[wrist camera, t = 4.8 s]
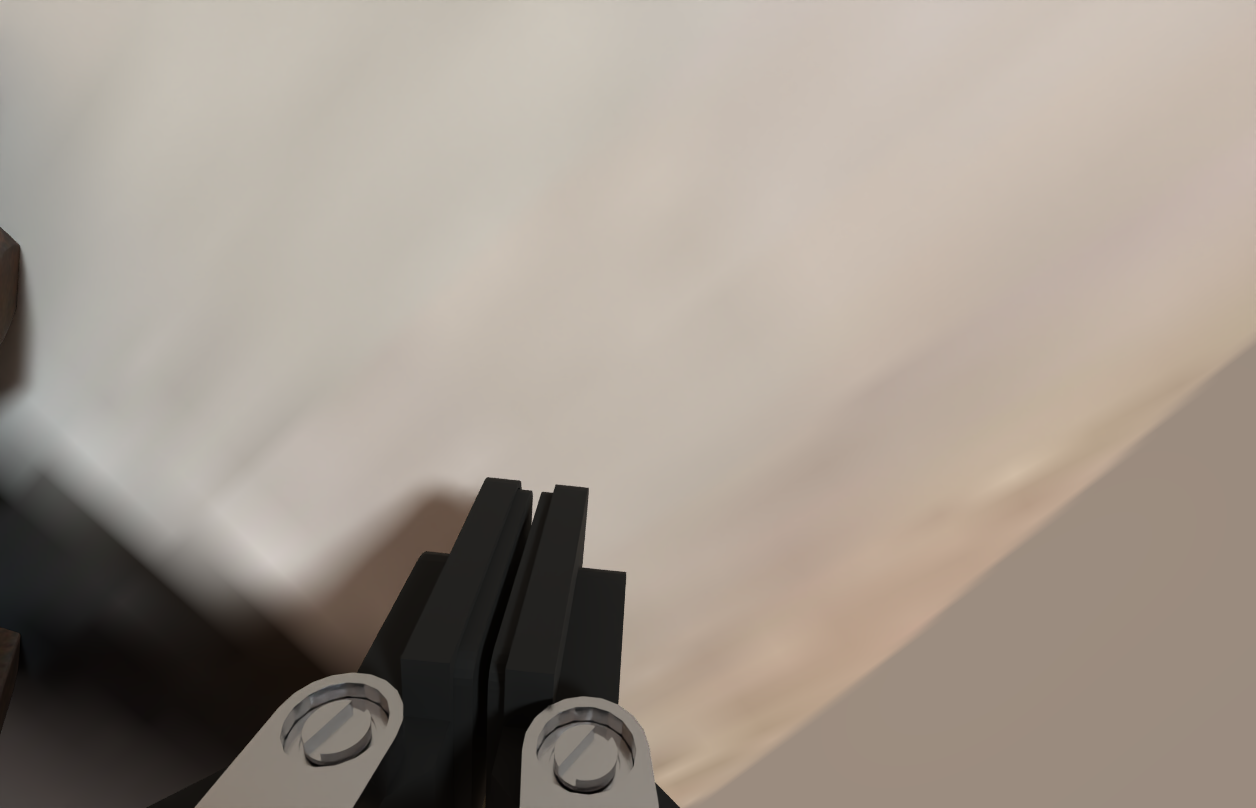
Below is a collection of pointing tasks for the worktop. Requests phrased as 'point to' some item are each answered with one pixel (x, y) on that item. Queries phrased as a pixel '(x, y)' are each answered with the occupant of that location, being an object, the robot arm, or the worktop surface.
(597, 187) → the worktop surface
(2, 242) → the bolt
